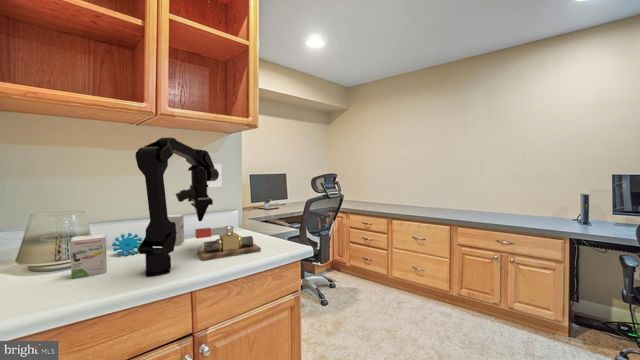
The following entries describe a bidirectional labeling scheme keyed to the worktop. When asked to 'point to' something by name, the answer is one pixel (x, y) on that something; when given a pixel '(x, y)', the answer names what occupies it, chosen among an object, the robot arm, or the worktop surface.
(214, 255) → the mount board
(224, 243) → the valve pipe
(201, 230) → the valve lever
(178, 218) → the supplement box
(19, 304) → the worktop surface
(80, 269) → the white pink medicine box
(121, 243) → the blue spiky virus toy
